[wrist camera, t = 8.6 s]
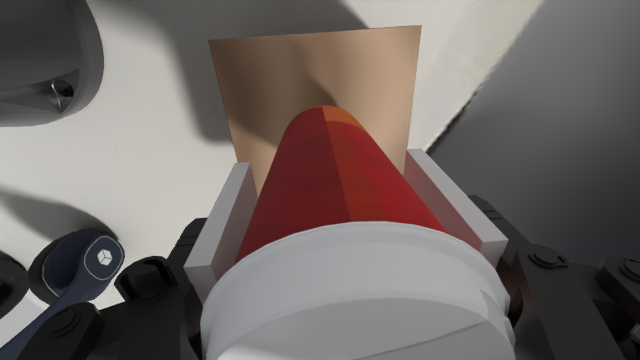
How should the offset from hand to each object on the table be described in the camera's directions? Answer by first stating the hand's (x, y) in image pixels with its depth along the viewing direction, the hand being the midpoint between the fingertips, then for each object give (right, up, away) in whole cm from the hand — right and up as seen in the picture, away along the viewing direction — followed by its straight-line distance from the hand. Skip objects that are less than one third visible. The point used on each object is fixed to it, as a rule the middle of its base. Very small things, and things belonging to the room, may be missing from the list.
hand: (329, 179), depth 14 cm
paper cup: (0, +2, +4) cm, 5 cm away
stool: (-1, +7, +12) cm, 14 cm away
